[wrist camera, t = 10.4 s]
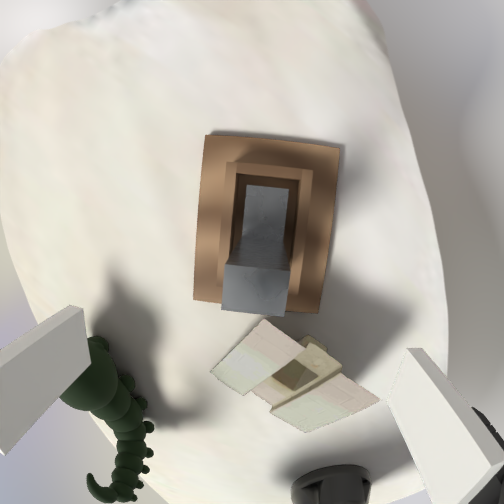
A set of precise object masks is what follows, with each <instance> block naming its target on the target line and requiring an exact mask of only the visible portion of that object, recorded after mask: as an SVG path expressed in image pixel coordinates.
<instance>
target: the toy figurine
mask: <svg viewBox="0 0 504 504" xmlns="http://www.w3.org/2000/svg"><path fill="white" fill-rule="evenodd" d="M87 342H88V348H89V354H90V359H91V364H90V365H89V366H88V367H87V368H86V369H85V370H84V371H83V372H82V374H81V375H80V376H79V377H78V378H77V379H76V380H75V381H74V382H73V383H72V384H71V385H70V386H69V387H68V388H67V389H66V390H65V391H64V392H63V393H62V394H61V395H60V397H59V398H60V399H61V400H62V401H63V402H65V403H66V404H68V405H69V406H71V407H73V408H75V409H78V410H83V411H90V412H91V413H92V414H93V415H95V416H96V417H98V418H100V419H102V420H104V421H105V422H106V424H107V425H108V426H109V427H110V428H111V429H113V431H114V434H115V436H116V438H117V439H118V441H117V451H118V454H117V456H116V458H115V465H116V468H115V469H114V471H113V472H112V475H111V477H112V481H113V483H111V485H110V486H109V487H101V486H99V485H98V484H97V483H96V481H95V480H94V477H93V475H92V474H91V473H88V474H87V487H88V489H89V492H90V493H91V494H92V495H93V497H95V498H96V499H97V500H99V501H101V502H103V503H113V502H115V501H119V502H123V503H124V502H128V501H133V502H135V501H136V500H137V496H136V495H135V494H134V491H133V490H134V489H135V488H138V489H141V488H143V486H144V484H143V482H141V481H140V480H139V478H138V475H139V474H140V473H141V472H142V473H143V474H147V473H149V471H150V469H149V467H148V466H146V465H143V461H142V460H143V459H144V458H145V457H146V458H150V457H152V456H153V455H154V452H153V450H152V449H151V448H148V447H146V443H145V442H144V439H145V437H146V433H152V432H153V431H154V424H153V423H152V422H150V421H144V422H143V421H142V420H143V414H142V410H145V409H146V408H147V401H146V400H145V399H144V398H142V397H141V398H136V399H134V398H132V397H131V396H130V393H129V392H131V391H133V389H134V388H135V382H134V379H133V378H132V377H130V376H129V375H122V376H120V377H119V378H118V374H117V370H116V367H115V364H114V362H113V360H112V358H111V357H110V355H109V354H108V350H109V345H108V342H107V341H106V340H105V339H104V338H102V337H99V336H93V337H89V338H87Z"/></svg>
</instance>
